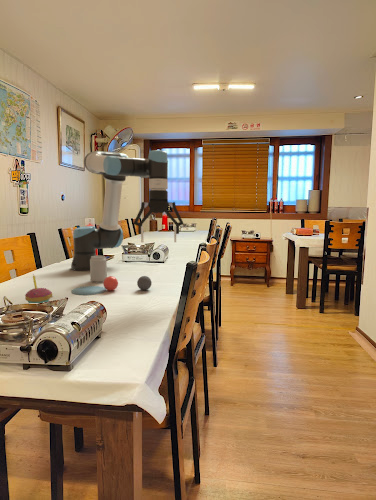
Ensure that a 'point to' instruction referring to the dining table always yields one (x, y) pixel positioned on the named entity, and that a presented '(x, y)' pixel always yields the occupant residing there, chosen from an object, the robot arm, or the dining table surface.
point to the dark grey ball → (144, 283)
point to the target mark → (88, 290)
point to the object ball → (110, 283)
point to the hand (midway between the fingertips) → (158, 242)
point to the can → (98, 269)
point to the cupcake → (38, 294)
